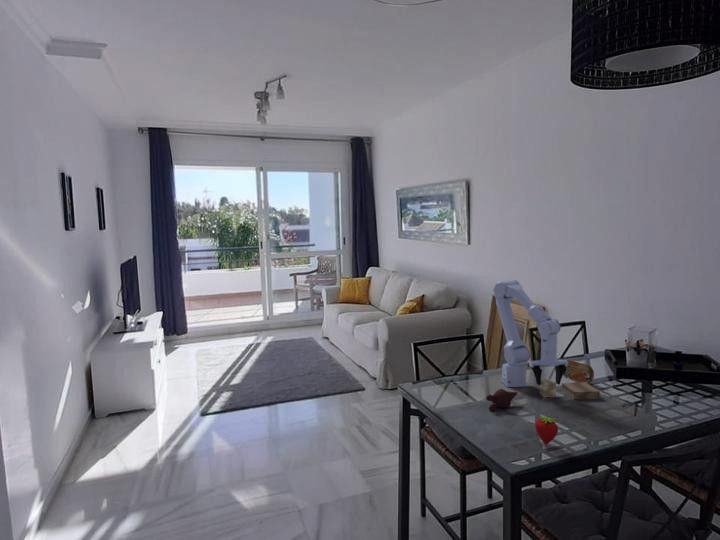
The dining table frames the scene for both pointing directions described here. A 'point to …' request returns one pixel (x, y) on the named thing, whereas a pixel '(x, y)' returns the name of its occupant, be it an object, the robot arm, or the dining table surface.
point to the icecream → (501, 399)
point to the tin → (579, 372)
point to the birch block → (548, 388)
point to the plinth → (580, 391)
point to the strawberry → (546, 429)
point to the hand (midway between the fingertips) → (548, 384)
